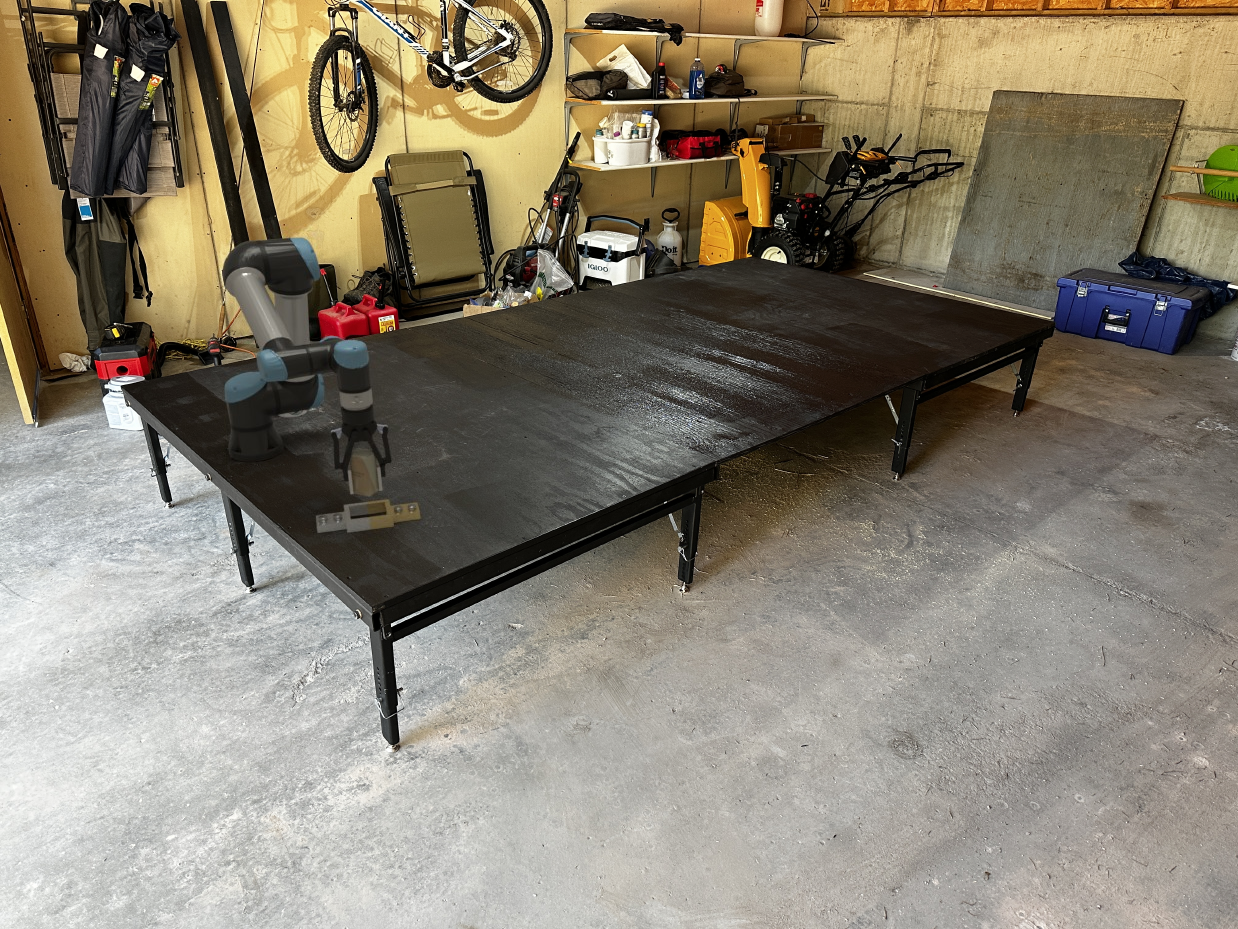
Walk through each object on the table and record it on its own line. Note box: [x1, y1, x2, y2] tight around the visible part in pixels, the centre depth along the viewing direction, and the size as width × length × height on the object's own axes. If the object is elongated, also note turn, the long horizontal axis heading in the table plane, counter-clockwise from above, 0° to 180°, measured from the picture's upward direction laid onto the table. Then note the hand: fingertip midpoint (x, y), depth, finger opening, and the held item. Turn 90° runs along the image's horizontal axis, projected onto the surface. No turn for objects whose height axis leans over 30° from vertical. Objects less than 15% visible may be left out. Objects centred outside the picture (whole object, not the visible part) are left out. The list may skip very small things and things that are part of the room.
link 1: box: [315, 501, 372, 534], centre depth 213 cm, size 13×9×3 cm
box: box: [349, 447, 379, 498], centre depth 209 cm, size 5×4×11 cm
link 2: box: [366, 499, 422, 530], centre depth 217 cm, size 13×9×3 cm
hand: (366, 489), depth 211 cm, fingers closed on box, 6 cm apart
